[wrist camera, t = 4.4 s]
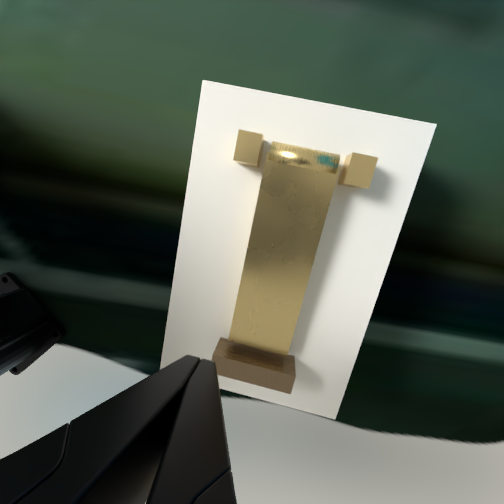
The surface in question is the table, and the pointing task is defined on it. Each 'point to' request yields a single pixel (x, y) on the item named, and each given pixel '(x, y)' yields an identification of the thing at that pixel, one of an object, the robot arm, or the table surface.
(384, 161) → the box
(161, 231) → the table surface
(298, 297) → the brass clasp lever
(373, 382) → the table surface
